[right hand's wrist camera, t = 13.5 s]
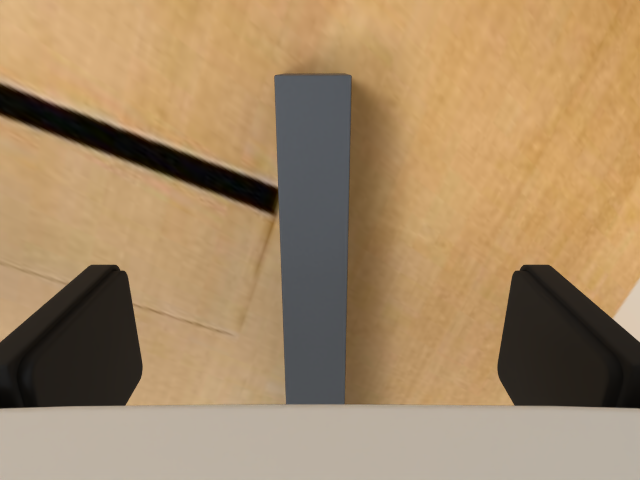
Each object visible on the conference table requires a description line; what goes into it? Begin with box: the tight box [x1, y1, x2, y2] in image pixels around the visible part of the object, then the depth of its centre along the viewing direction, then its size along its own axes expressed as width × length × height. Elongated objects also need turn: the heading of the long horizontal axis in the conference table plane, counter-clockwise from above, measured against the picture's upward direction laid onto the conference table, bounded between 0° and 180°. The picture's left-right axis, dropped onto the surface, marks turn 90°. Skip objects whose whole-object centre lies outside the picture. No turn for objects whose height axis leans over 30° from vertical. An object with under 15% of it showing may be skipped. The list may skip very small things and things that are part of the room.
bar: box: [274, 74, 352, 405], centre depth 43 cm, size 62×5×7 cm, turn 0°
